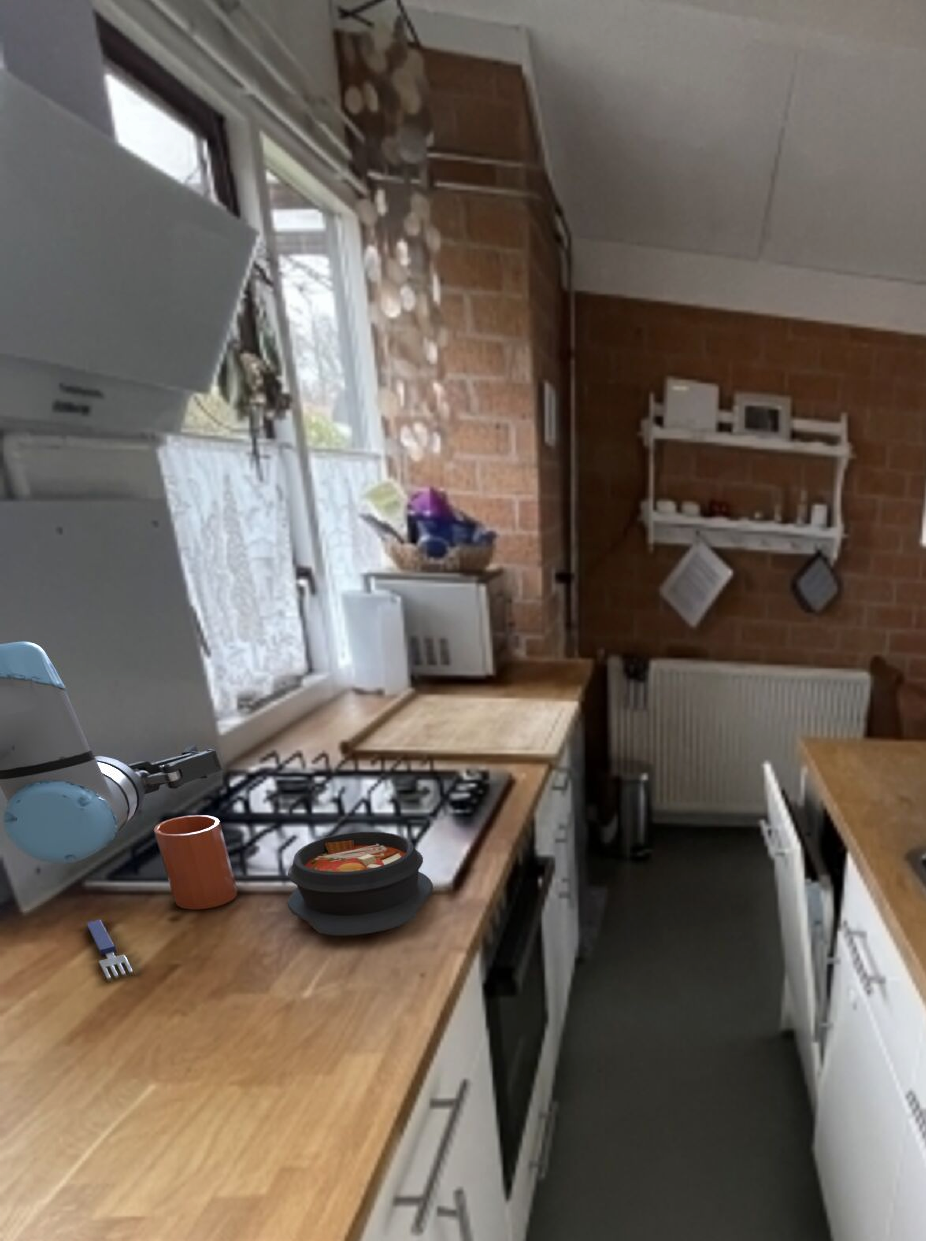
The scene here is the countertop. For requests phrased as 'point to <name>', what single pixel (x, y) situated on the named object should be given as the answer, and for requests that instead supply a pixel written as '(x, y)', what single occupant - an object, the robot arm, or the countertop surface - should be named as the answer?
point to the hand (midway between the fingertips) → (133, 765)
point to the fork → (107, 951)
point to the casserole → (358, 883)
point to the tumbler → (196, 861)
